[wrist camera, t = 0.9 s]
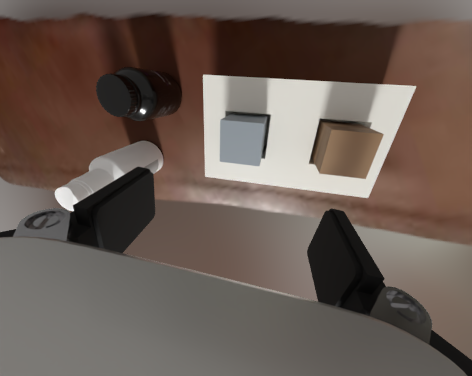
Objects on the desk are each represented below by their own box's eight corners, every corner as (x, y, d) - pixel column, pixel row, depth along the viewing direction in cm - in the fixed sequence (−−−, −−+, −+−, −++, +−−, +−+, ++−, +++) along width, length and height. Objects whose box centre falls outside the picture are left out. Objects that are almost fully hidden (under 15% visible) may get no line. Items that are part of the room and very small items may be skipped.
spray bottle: (134, 167, 42) (49, 213, 27) (132, 136, 39) (34, 169, 23) (163, 175, 42) (95, 227, 26) (164, 144, 38) (86, 183, 23)
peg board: (381, 86, 28) (416, 86, 21) (349, 175, 34) (368, 198, 27) (219, 77, 31) (202, 74, 24) (218, 160, 38) (205, 176, 31)
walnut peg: (359, 123, 25) (383, 134, 19) (347, 160, 28) (365, 179, 22) (319, 120, 26) (331, 129, 20) (311, 156, 28) (319, 173, 23)
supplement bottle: (178, 69, 32) (129, 60, 21) (186, 113, 35) (146, 124, 24) (141, 73, 33) (78, 66, 23) (151, 115, 36) (100, 126, 26)
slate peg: (267, 116, 27) (264, 123, 21) (262, 151, 29) (259, 166, 24) (232, 113, 28) (220, 119, 22) (230, 147, 30) (219, 161, 24)
